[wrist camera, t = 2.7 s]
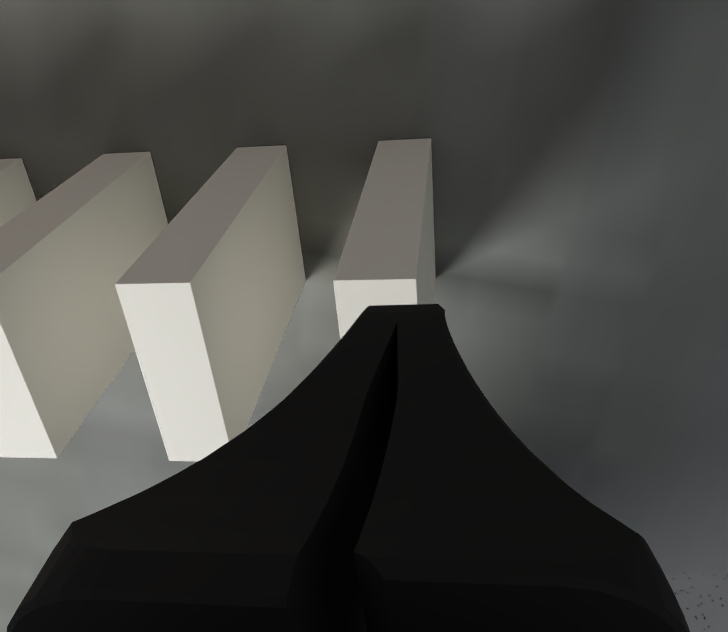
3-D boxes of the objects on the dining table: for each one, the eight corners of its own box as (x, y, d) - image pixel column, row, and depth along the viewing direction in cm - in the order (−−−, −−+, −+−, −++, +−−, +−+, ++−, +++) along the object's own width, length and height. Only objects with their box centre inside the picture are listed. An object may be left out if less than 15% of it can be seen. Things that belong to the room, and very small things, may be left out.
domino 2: (286, 145, 21) (189, 282, 14) (305, 280, 24) (233, 461, 16) (237, 147, 21) (114, 283, 14) (261, 281, 24) (169, 460, 16)
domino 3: (431, 138, 20) (416, 278, 13) (435, 278, 23) (425, 466, 15) (378, 140, 21) (332, 280, 13) (388, 279, 23) (355, 464, 16)
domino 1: (150, 151, 22) (-16, 286, 14) (182, 283, 24) (57, 458, 17) (103, 153, 22) (-84, 287, 14) (140, 283, 24) (-3, 456, 17)
